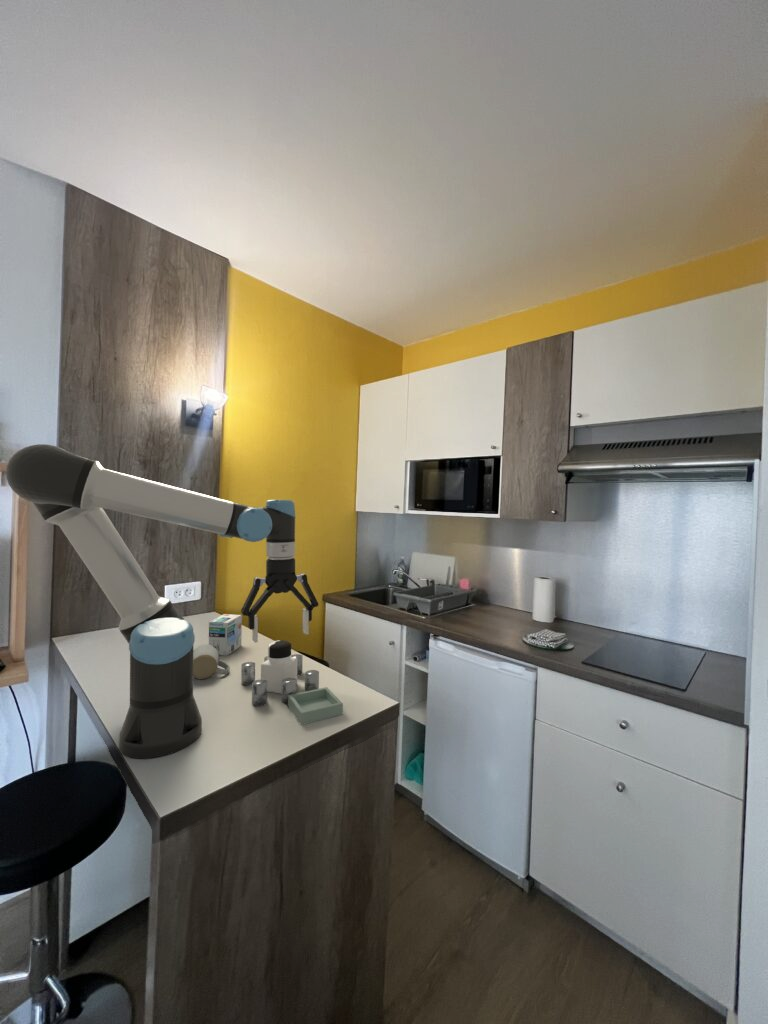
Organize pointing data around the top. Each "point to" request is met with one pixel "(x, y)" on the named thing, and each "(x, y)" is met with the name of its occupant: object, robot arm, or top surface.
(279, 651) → the medicine bottle
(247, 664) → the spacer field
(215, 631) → the light bulb box
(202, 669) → the ceramic mug
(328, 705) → the tray
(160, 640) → the robot arm
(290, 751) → the top surface
